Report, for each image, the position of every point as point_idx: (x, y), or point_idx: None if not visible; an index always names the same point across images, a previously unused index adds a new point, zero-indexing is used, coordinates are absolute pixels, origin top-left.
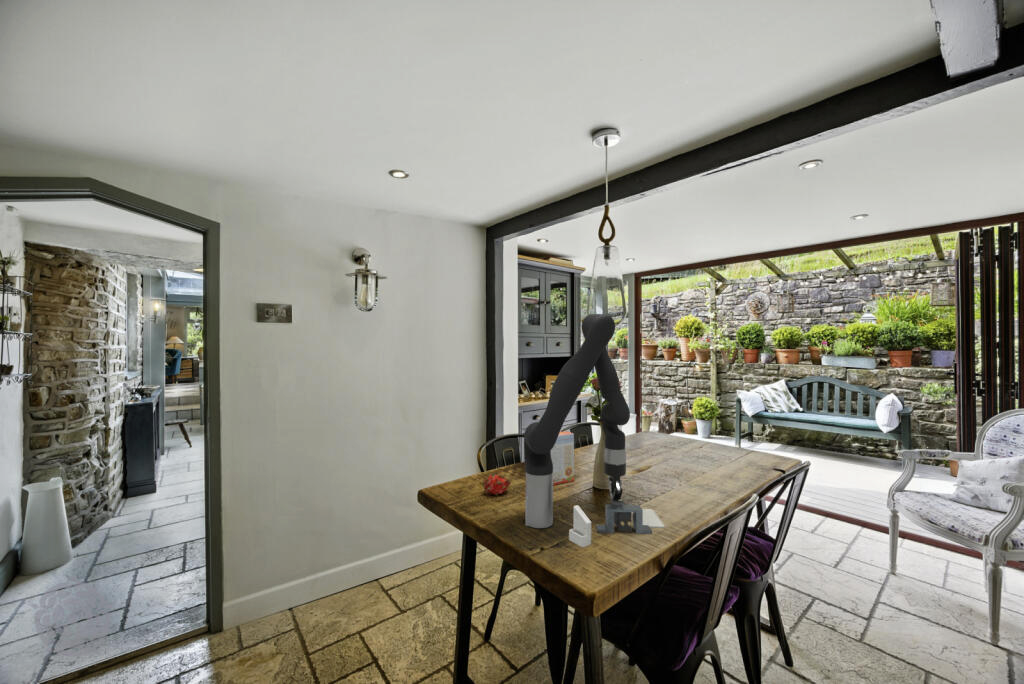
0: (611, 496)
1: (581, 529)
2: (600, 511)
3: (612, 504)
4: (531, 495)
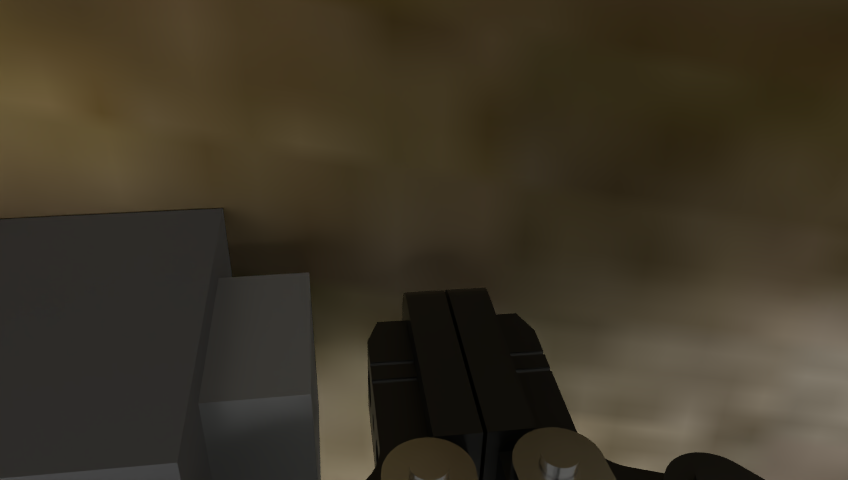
0: (513, 470)
1: None
2: (529, 47)
3: (102, 411)
4: None
